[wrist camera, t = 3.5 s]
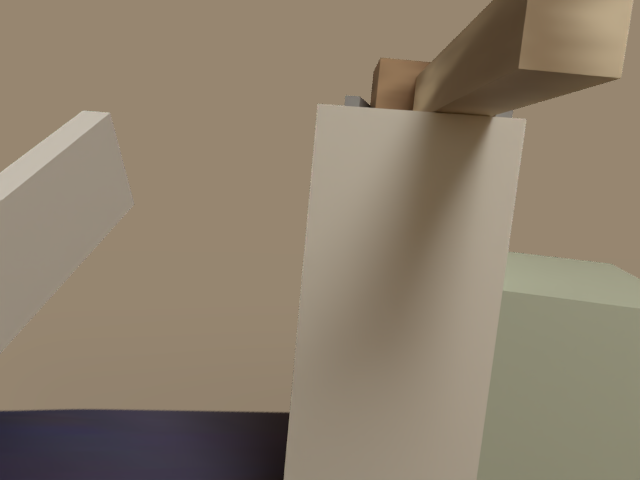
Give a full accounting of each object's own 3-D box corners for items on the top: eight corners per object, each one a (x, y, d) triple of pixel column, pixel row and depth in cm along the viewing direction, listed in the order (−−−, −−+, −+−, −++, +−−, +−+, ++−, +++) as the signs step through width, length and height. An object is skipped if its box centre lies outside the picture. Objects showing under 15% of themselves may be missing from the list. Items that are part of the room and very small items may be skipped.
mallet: (432, 60, 17) (449, -86, 16) (368, 125, 45) (373, 71, 44) (707, 86, 17) (732, -59, 16) (471, 134, 44) (477, 81, 44)
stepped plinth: (274, 582, 36) (320, 76, 31) (331, 448, 53) (365, 111, 49) (643, 674, 31) (751, 103, 27) (573, 495, 49) (633, 131, 45)
